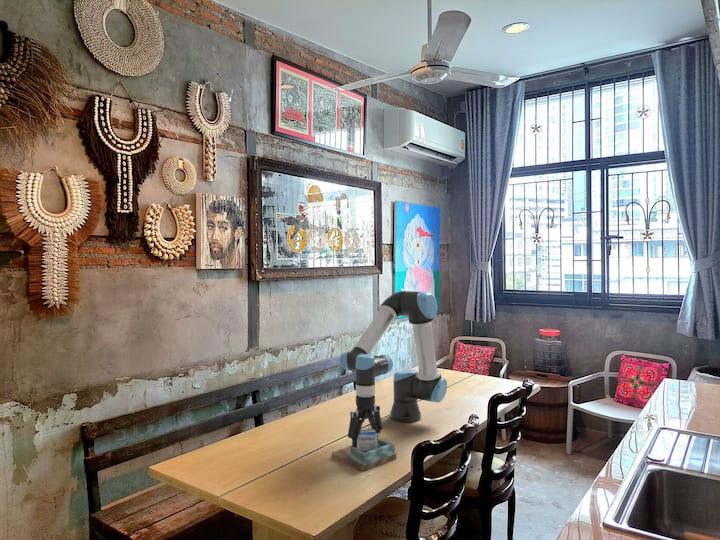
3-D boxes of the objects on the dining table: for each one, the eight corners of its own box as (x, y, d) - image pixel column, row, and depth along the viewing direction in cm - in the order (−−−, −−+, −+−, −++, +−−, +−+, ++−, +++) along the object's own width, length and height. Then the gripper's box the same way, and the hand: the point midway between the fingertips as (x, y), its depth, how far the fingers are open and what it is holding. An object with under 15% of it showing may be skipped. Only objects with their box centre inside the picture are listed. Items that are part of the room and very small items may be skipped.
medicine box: (357, 455, 194) (356, 433, 193) (354, 451, 198) (354, 429, 198) (376, 453, 196) (376, 431, 196) (373, 449, 200) (373, 427, 200)
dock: (365, 445, 210) (365, 431, 210) (396, 458, 197) (396, 443, 197) (331, 457, 198) (331, 442, 198) (362, 471, 185) (362, 455, 185)
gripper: (378, 388, 206) (378, 442, 207) (337, 397, 192) (338, 456, 192) (391, 391, 201) (391, 447, 201) (350, 402, 186) (350, 462, 187)
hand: (365, 451), depth 197 cm, fingers closed on medicine box, 9 cm apart
